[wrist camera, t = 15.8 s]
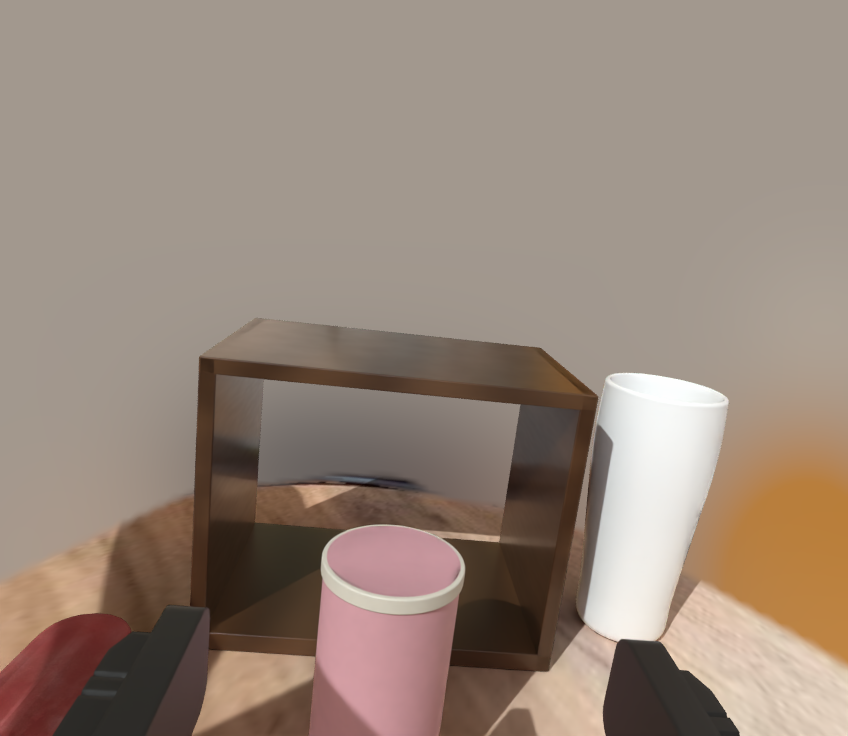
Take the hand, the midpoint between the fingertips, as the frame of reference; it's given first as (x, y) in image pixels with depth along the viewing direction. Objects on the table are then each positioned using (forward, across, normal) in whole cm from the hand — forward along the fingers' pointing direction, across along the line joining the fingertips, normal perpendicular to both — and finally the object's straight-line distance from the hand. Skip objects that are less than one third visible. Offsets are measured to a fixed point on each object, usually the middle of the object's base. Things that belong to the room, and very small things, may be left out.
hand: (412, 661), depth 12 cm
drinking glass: (+23, -15, +14) cm, 31 cm away
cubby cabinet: (+24, 0, +14) cm, 28 cm away
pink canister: (+11, 0, +14) cm, 18 cm away
